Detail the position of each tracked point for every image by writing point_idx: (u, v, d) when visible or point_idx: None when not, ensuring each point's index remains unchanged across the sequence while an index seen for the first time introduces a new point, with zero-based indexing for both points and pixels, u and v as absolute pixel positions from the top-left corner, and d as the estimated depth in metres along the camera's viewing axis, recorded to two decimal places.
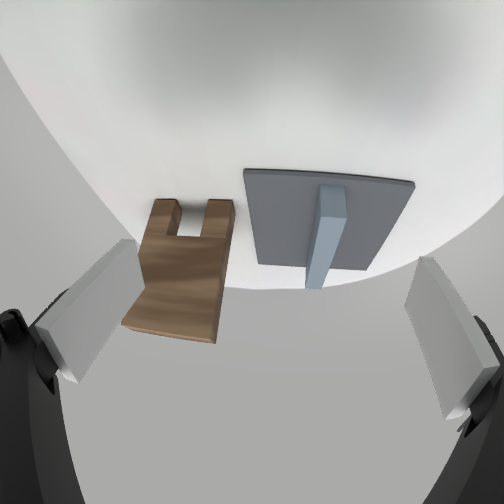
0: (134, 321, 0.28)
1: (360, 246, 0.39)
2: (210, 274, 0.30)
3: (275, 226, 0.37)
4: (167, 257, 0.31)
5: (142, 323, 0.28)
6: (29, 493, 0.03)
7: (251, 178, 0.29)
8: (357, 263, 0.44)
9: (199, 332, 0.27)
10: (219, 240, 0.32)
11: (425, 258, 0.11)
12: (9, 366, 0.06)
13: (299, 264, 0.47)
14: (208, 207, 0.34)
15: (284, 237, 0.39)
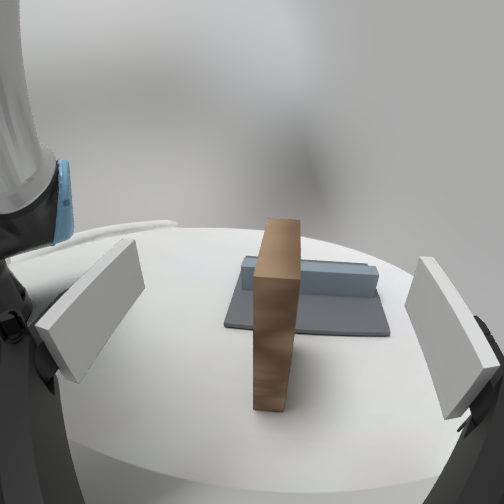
0: None
1: None
2: None
3: (301, 314, 0.38)
4: None
5: None
6: (29, 493, 0.03)
7: (230, 319, 0.38)
8: None
9: None
10: None
11: (425, 258, 0.11)
12: (9, 366, 0.06)
13: (375, 301, 0.40)
14: None
15: (320, 309, 0.39)
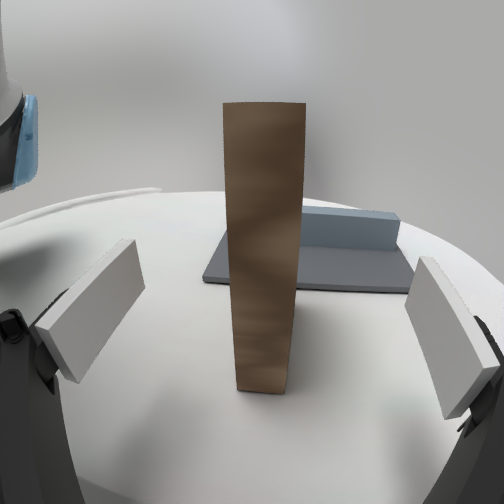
0: None
1: None
2: None
3: (305, 266, 0.30)
4: None
5: None
6: (29, 493, 0.03)
7: (210, 272, 0.29)
8: None
9: None
10: None
11: (425, 258, 0.11)
12: (9, 366, 0.06)
13: (397, 255, 0.31)
14: None
15: (330, 262, 0.30)
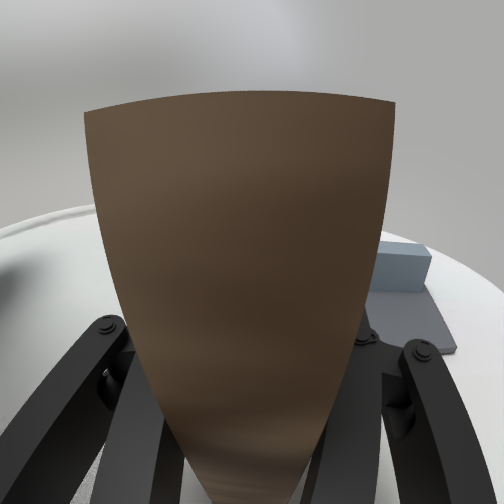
0: None
1: None
2: None
3: None
4: None
5: None
6: None
7: None
8: None
9: None
10: None
11: None
12: None
13: (425, 298, 0.24)
14: None
15: None
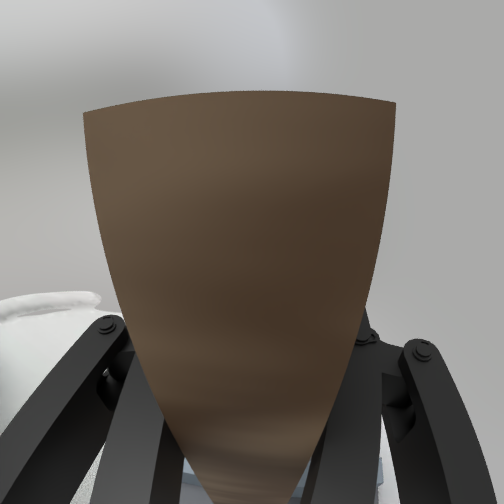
0: None
1: None
2: None
3: None
4: None
5: None
6: None
7: None
8: None
9: None
10: None
11: None
12: None
13: None
14: None
15: None
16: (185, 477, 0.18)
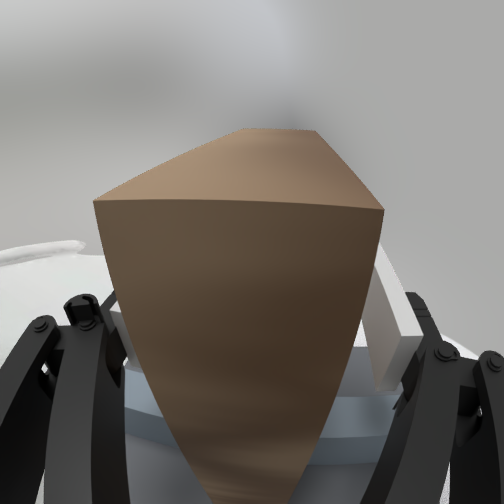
0: None
1: None
2: None
3: None
4: None
5: None
6: (76, 497, 0.03)
7: None
8: None
9: None
10: None
11: None
12: (75, 355, 0.07)
13: None
14: None
15: None
16: (150, 427, 0.13)
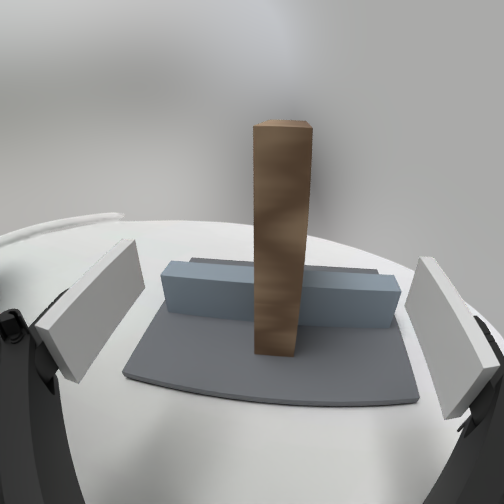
0: None
1: None
2: None
3: (257, 363, 0.21)
4: None
5: None
6: (29, 493, 0.03)
7: (133, 366, 0.20)
8: None
9: None
10: None
11: (425, 258, 0.11)
12: (9, 366, 0.06)
13: (392, 336, 0.22)
14: None
15: (294, 355, 0.21)
16: (207, 297, 0.24)
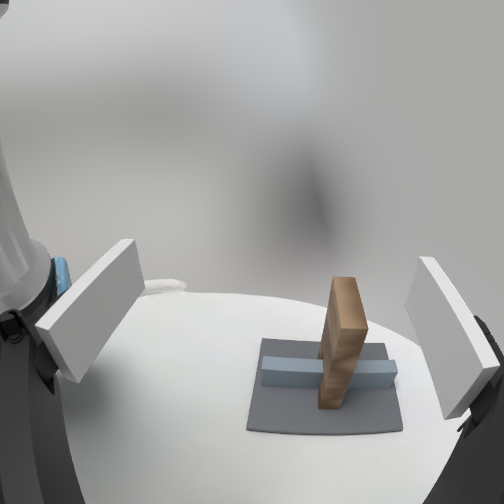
0: (338, 322, 0.30)
1: None
2: (326, 319, 0.39)
3: (320, 414, 0.35)
4: (326, 354, 0.36)
5: (337, 316, 0.31)
6: (29, 493, 0.03)
7: (252, 423, 0.34)
8: (373, 351, 0.45)
9: (333, 284, 0.36)
10: (322, 338, 0.42)
11: (425, 258, 0.11)
12: (9, 366, 0.06)
13: (391, 393, 0.37)
14: None
15: (339, 408, 0.36)
16: (289, 378, 0.39)
